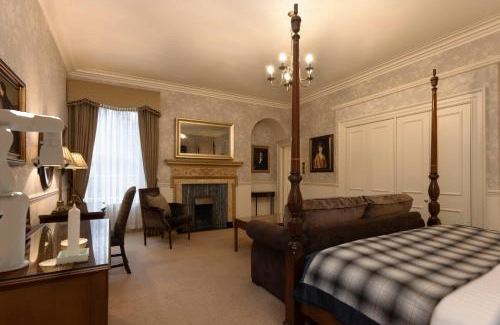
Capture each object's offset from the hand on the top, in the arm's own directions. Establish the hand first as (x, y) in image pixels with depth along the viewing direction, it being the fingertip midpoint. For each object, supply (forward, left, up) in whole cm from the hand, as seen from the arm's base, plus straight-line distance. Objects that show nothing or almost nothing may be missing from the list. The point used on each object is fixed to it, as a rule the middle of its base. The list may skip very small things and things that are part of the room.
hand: (51, 175), depth 142 cm
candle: (-8, -30, -38) cm, 49 cm away
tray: (-8, -30, -38) cm, 49 cm away
